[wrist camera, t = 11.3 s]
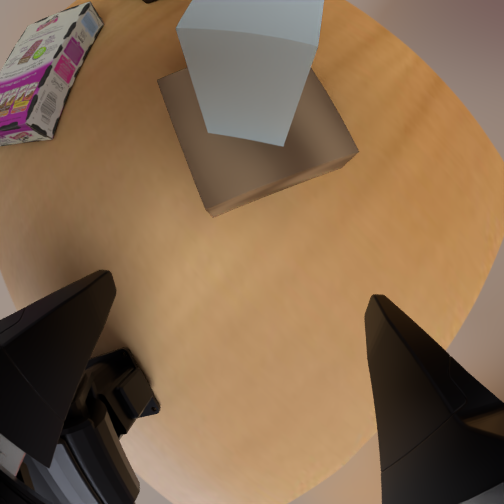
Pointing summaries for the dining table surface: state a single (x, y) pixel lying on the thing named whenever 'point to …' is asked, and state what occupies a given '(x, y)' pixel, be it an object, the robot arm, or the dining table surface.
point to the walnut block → (256, 147)
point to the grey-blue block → (250, 62)
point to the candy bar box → (44, 73)
